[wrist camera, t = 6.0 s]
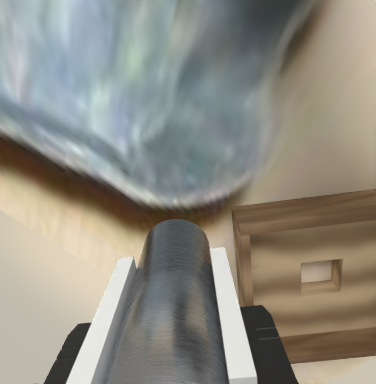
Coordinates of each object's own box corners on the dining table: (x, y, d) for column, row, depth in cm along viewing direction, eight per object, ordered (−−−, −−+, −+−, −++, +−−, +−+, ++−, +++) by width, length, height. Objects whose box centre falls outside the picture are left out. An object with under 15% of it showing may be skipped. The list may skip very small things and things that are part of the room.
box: (231, 207, 35) (240, 228, 29) (401, 186, 34) (444, 203, 28) (242, 331, 42) (250, 367, 36) (381, 317, 41) (412, 352, 35)
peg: (138, 223, 16) (-135, 925, 2) (205, 215, 15) (316, 919, 2) (150, 278, 17) (18, 923, 4) (212, 272, 17) (305, 921, 4)
